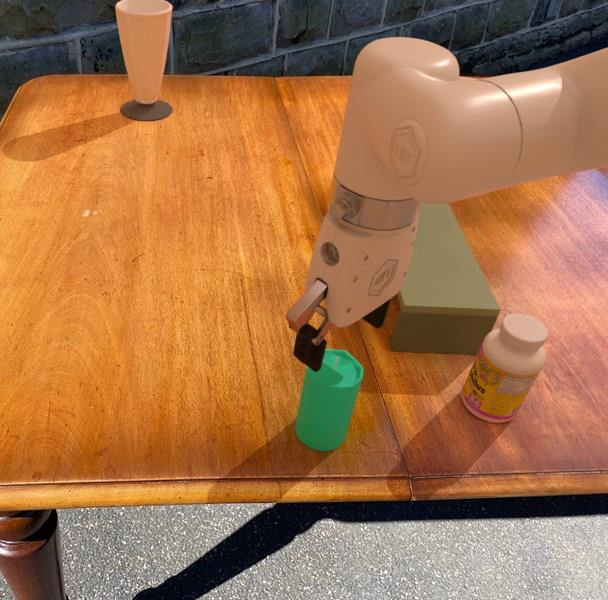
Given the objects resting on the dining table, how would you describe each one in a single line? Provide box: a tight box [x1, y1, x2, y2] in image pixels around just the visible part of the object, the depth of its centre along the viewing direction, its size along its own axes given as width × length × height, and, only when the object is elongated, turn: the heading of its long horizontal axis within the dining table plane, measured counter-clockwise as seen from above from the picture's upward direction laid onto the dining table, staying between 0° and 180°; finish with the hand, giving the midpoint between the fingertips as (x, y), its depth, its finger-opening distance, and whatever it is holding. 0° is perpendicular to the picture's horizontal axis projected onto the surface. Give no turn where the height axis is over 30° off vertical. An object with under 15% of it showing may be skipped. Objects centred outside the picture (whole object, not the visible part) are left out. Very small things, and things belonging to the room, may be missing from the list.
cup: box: [114, 0, 173, 122], centre depth 132 cm, size 12×12×22 cm
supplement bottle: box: [460, 312, 549, 424], centre depth 73 cm, size 7×7×13 cm
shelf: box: [388, 202, 502, 356], centre depth 92 cm, size 28×12×8 cm, turn 178°
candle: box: [294, 348, 365, 452], centre depth 69 cm, size 6×6×12 cm
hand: (338, 340), depth 65 cm, fingers open, 9 cm apart
